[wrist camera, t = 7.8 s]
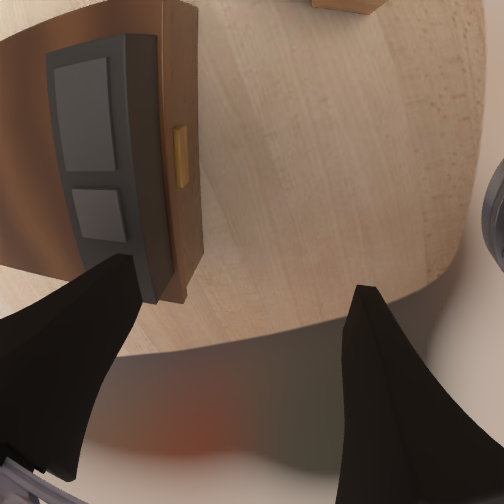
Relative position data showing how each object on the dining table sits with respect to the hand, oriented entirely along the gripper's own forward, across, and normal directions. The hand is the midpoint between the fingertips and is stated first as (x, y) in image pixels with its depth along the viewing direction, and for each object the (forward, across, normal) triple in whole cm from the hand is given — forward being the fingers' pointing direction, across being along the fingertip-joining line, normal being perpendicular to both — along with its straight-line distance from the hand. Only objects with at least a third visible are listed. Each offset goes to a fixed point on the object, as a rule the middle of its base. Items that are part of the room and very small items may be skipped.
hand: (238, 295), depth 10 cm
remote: (+5, +7, -2) cm, 9 cm away
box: (+10, +31, -2) cm, 33 cm away
